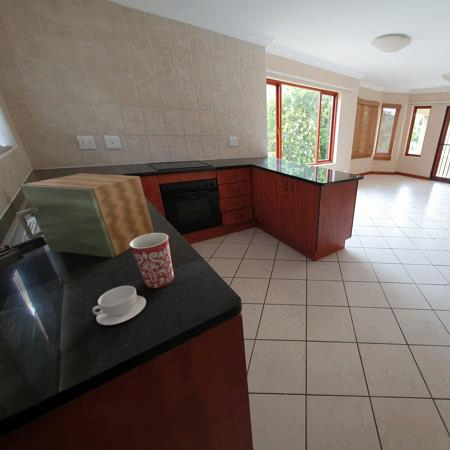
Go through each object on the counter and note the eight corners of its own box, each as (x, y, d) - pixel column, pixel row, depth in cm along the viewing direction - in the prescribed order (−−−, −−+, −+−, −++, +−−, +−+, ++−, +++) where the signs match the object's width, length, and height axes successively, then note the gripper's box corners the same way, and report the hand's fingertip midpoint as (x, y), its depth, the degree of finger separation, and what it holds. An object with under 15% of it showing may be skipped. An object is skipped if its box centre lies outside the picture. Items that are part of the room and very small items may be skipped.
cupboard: (116, 256, 82) (93, 188, 72) (54, 249, 86) (24, 183, 76) (154, 234, 98) (139, 176, 88) (100, 229, 102) (81, 173, 92)
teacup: (140, 291, 65) (135, 277, 63) (151, 310, 58) (147, 295, 56) (93, 310, 58) (87, 295, 56) (100, 334, 52) (93, 317, 50)
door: (98, 265, 76) (70, 194, 66) (33, 257, 80) (-2, 189, 70) (115, 256, 81) (92, 188, 72) (53, 248, 85) (24, 184, 76)
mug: (173, 288, 66) (162, 245, 61) (137, 292, 64) (122, 249, 59) (183, 264, 77) (175, 226, 72) (153, 267, 76) (142, 228, 70)
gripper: (-101, 302, 51) (30, 249, 72) (-55, 310, 49) (66, 253, 70) (-125, 273, 48) (19, 227, 69) (-77, 280, 46) (56, 230, 67)
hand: (43, 240), depth 70 cm, fingers closed
